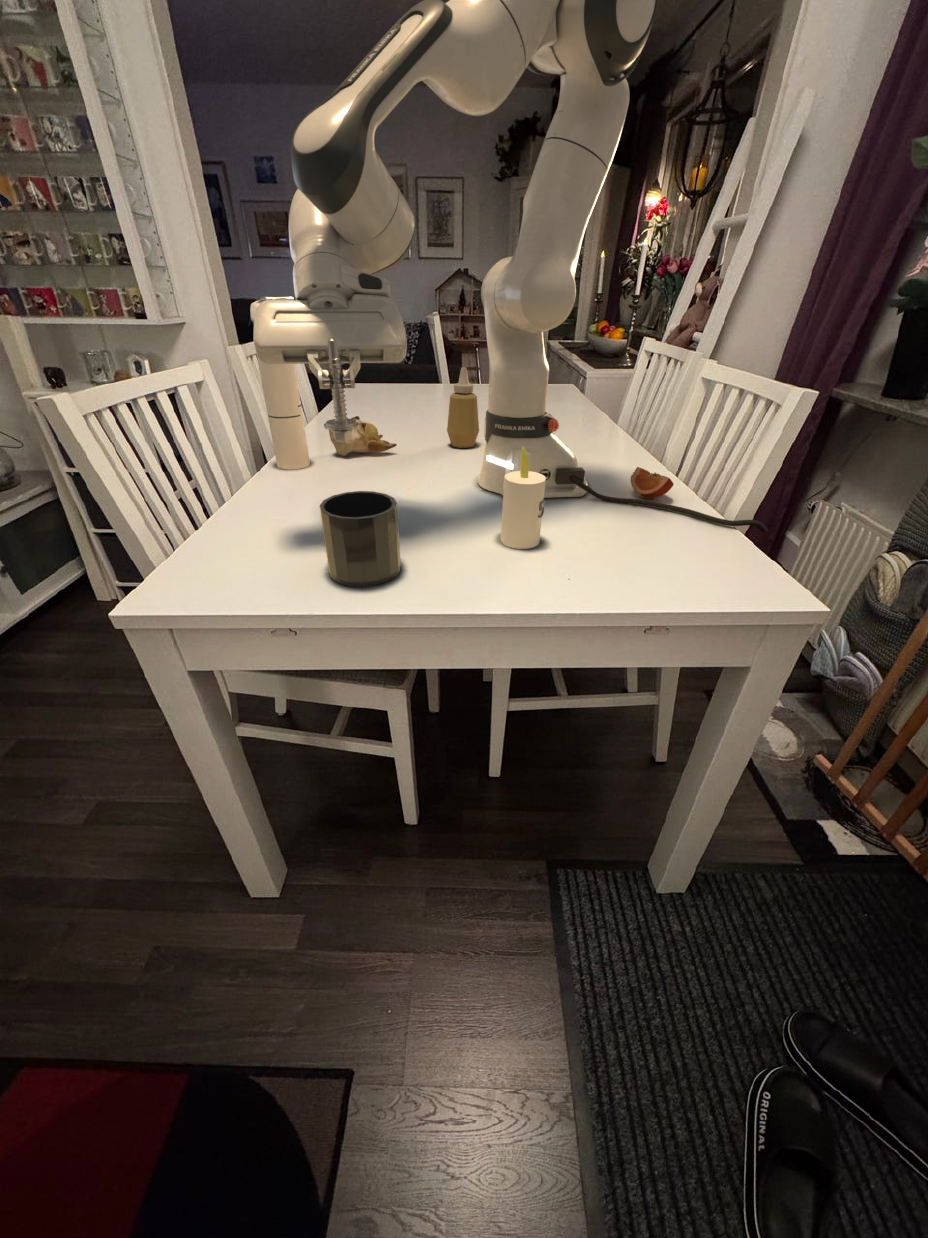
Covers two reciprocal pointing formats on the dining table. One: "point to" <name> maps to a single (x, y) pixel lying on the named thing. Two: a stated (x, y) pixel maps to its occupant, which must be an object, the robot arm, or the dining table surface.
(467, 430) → the squeeze bottle
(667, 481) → the fruit slice
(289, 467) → the cylindrical container
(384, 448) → the ceramic sculpture
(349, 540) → the holder
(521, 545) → the candle
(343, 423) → the screw
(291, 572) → the dining table surface
